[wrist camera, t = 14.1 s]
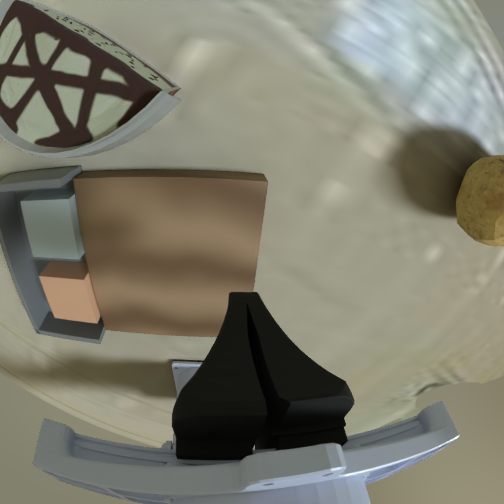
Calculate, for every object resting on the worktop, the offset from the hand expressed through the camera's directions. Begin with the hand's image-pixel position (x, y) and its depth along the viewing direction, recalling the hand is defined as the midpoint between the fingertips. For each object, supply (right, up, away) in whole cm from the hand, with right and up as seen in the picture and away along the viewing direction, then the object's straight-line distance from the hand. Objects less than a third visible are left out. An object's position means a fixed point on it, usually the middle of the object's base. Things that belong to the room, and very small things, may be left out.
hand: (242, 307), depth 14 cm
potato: (+25, +10, +9) cm, 29 cm away
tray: (-18, +3, +8) cm, 19 cm away
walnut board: (-6, +2, +9) cm, 12 cm away
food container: (-10, +15, +2) cm, 18 cm away
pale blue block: (-15, +6, +6) cm, 17 cm away
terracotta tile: (-16, 0, +9) cm, 19 cm away
